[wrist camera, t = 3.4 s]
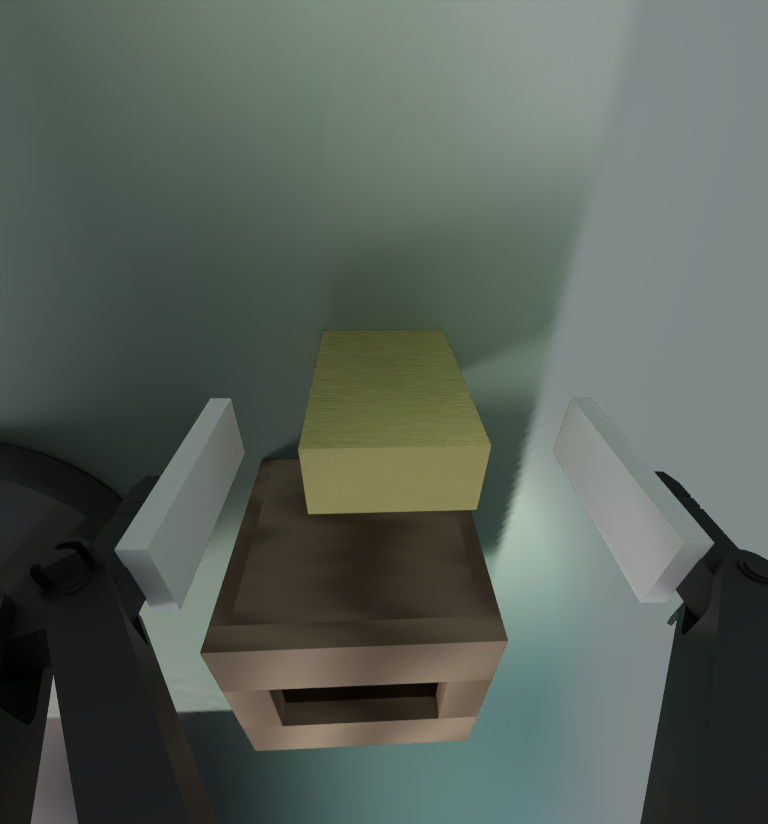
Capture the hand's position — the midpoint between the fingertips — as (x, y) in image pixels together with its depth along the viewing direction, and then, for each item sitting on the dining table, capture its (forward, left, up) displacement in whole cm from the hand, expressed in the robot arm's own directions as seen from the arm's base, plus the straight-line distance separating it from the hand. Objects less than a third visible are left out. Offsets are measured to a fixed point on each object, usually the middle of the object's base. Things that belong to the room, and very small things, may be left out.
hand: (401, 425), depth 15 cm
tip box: (+9, -10, -6) cm, 14 cm away
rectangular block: (0, 0, -6) cm, 6 cm away
